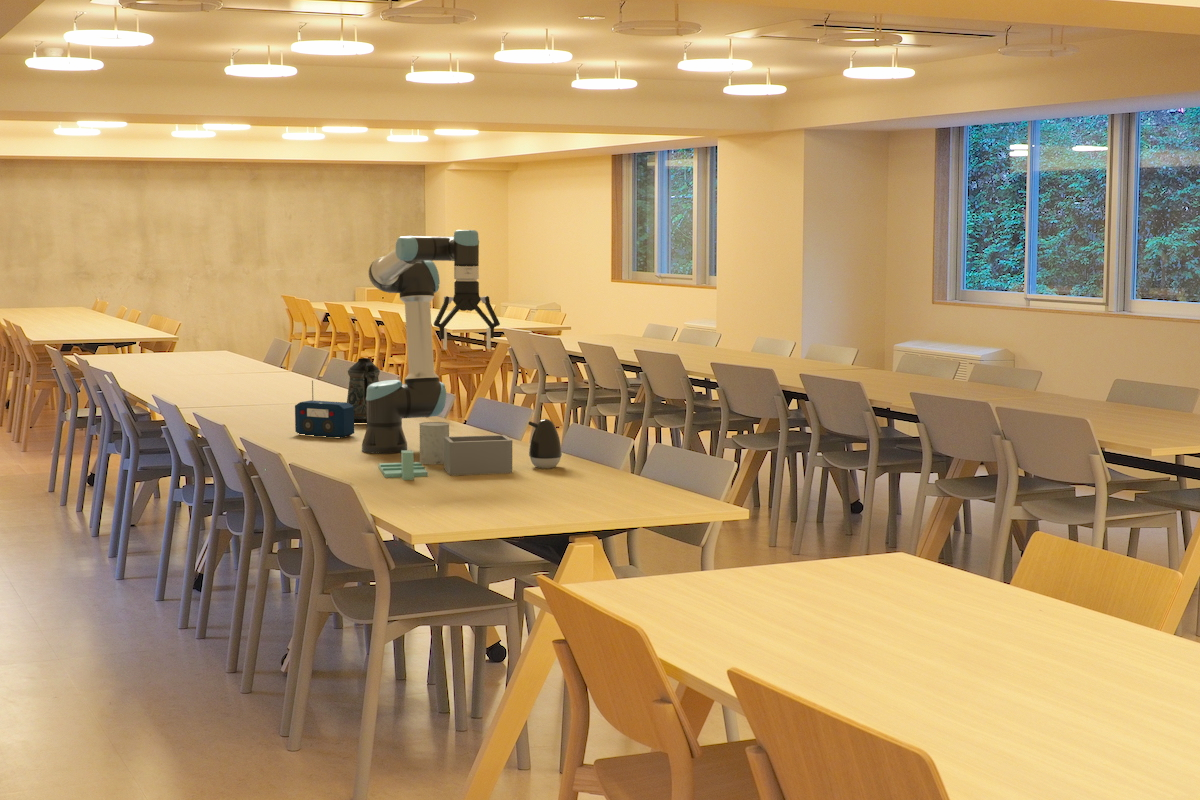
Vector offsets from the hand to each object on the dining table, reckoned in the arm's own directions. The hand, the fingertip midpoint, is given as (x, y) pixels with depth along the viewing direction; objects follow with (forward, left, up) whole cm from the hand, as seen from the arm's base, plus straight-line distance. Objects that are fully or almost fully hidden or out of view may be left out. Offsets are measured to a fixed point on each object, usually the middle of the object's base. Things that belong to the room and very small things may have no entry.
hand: (467, 349), depth 397 cm
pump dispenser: (+7, +23, -37) cm, 44 cm away
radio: (-78, -39, -37) cm, 95 cm away
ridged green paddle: (+7, -21, -37) cm, 43 cm away
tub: (+9, +2, -37) cm, 38 cm away
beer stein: (-111, -21, -37) cm, 119 cm away
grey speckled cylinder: (-11, -9, -37) cm, 40 cm away
